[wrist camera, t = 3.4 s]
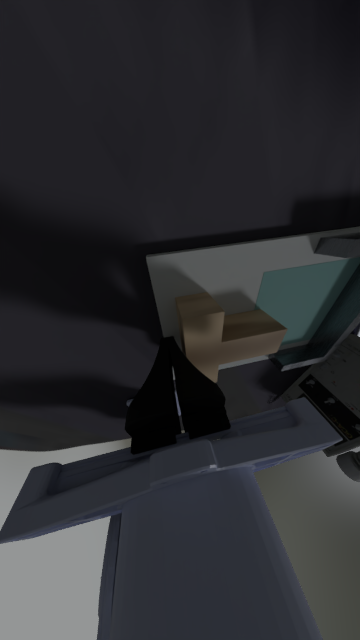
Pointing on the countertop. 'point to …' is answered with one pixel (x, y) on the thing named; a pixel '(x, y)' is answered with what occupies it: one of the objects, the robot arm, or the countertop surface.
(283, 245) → the mat
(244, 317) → the t block
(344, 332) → the bracket
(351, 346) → the geiger counter
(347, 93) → the countertop surface
